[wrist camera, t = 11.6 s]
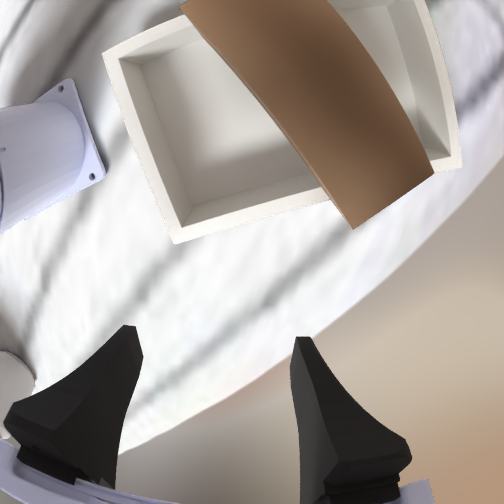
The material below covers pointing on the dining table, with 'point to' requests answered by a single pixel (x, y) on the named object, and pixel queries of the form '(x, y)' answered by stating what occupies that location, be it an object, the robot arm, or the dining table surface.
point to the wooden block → (320, 96)
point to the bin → (259, 117)
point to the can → (12, 385)
